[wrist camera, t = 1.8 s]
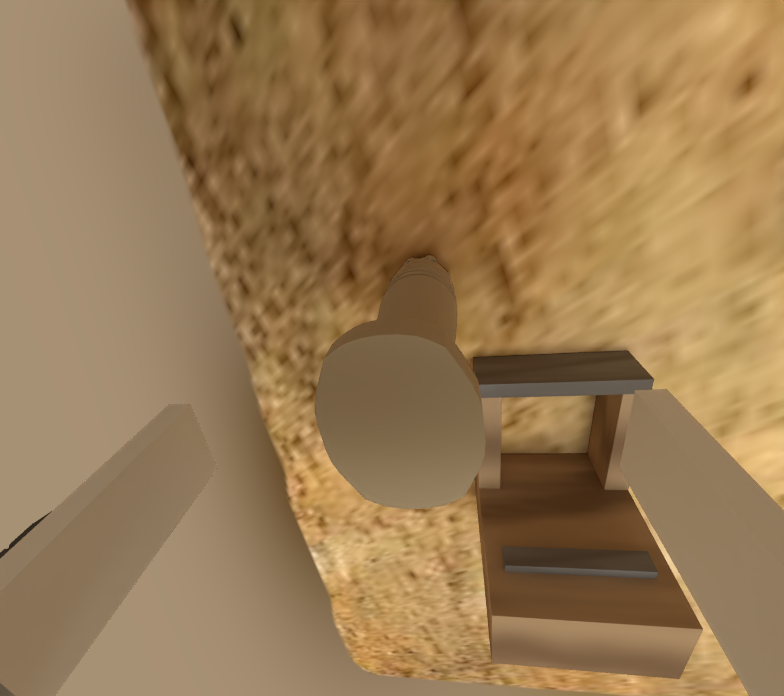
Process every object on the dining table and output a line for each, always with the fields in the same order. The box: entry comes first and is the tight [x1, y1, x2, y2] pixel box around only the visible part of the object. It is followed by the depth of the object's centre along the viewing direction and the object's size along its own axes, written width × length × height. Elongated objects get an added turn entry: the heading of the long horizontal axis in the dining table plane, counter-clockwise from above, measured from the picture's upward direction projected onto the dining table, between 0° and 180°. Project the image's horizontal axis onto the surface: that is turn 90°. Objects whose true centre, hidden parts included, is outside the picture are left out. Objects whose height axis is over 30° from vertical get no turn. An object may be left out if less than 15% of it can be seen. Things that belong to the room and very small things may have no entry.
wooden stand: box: [473, 351, 703, 679], centre depth 23 cm, size 14×10×12 cm
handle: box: [315, 255, 486, 509], centre depth 18 cm, size 5×6×15 cm
